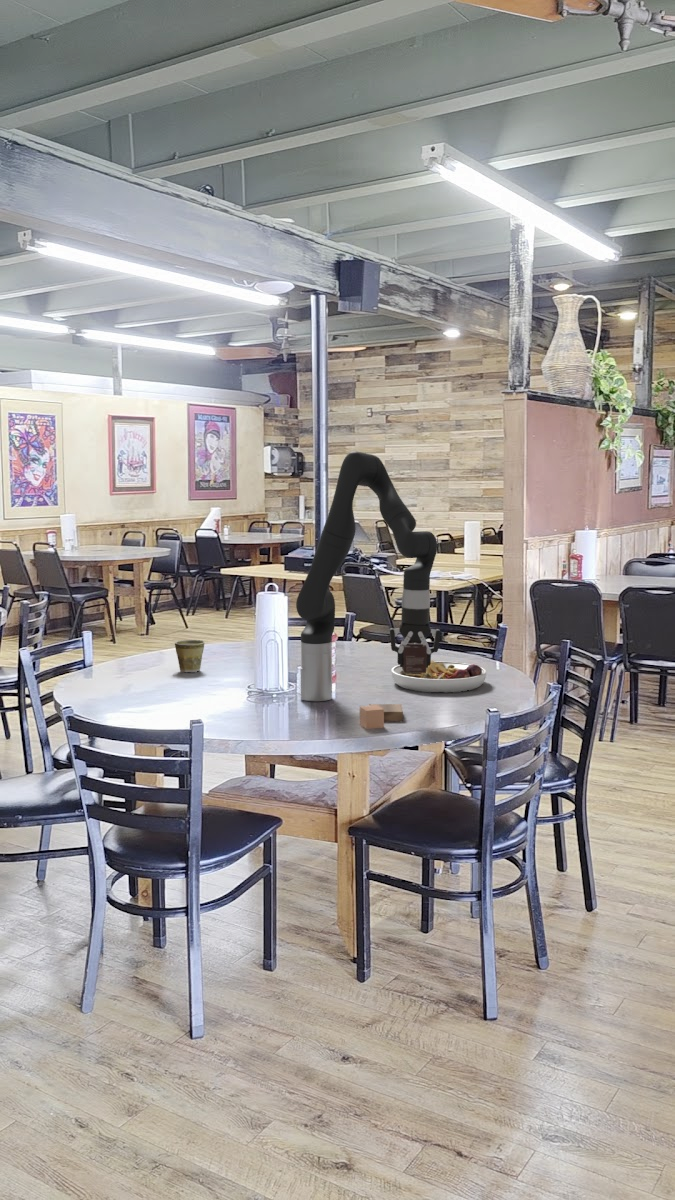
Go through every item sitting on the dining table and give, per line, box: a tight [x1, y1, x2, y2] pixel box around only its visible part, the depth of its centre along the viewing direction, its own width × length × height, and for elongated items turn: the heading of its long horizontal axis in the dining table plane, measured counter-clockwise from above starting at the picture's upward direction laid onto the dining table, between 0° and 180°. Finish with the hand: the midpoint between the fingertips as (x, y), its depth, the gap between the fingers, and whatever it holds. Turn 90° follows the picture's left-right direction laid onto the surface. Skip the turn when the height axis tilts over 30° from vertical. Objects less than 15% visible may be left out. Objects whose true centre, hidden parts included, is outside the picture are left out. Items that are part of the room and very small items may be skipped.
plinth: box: [368, 703, 404, 722], centre depth 277 cm, size 9×9×3 cm
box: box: [402, 643, 427, 673], centre depth 272 cm, size 6×6×7 cm
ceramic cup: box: [174, 639, 205, 673], centre depth 345 cm, size 13×10×10 cm
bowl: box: [391, 660, 487, 693], centre depth 320 cm, size 30×30×8 cm
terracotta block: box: [359, 705, 385, 730], centre depth 267 cm, size 5×5×5 cm
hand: (413, 666), depth 273 cm, fingers closed on box, 6 cm apart
